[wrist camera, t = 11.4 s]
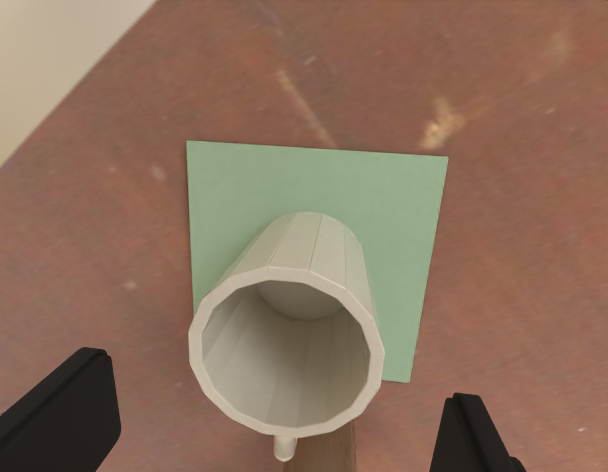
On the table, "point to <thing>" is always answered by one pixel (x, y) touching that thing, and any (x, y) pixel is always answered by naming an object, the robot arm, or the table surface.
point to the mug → (291, 332)
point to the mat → (330, 201)
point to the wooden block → (325, 452)
